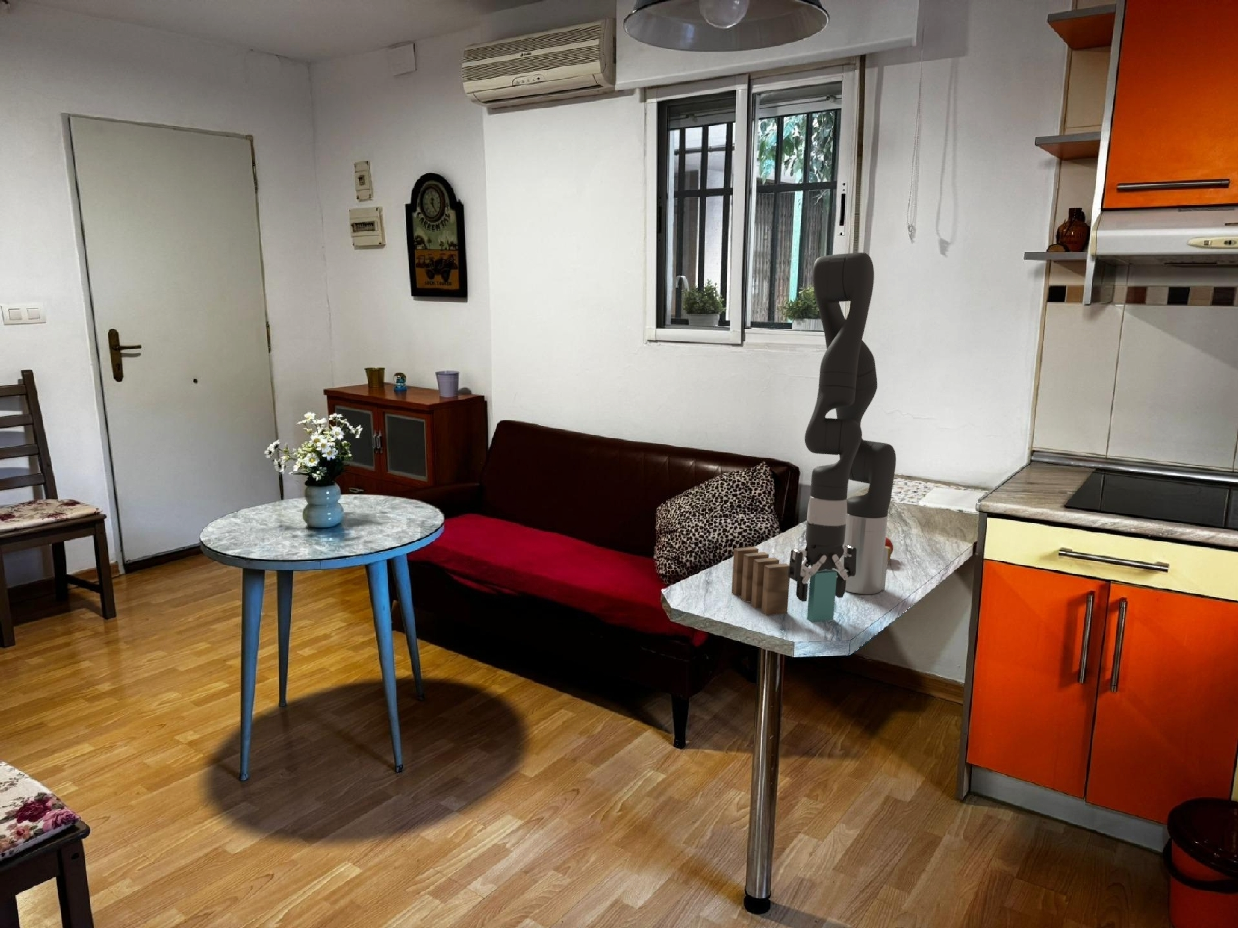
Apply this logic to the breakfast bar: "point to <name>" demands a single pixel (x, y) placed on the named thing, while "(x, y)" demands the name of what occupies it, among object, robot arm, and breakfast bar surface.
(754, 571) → the domino
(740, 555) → the domino
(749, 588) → the domino
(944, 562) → the breakfast bar surface
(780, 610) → the domino
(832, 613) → the teal domino
